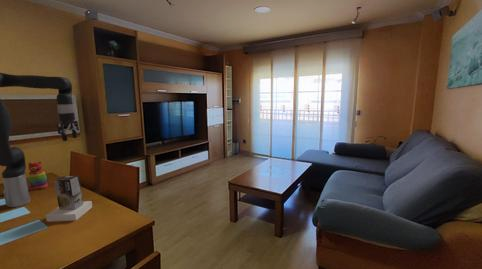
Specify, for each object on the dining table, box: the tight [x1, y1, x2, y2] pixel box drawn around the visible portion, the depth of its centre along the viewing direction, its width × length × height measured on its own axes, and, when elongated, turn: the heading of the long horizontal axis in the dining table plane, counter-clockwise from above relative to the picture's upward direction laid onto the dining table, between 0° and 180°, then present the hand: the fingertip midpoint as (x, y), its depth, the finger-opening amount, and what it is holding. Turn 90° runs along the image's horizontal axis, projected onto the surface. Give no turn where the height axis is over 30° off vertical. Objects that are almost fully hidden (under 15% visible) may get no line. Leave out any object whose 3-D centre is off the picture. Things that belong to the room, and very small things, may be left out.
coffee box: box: [53, 175, 84, 209], centre depth 119 cm, size 9×6×16 cm
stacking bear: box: [27, 161, 49, 192], centre depth 153 cm, size 11×10×18 cm
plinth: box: [45, 200, 93, 223], centre depth 120 cm, size 14×14×4 cm
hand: (70, 139), depth 135 cm, fingers open, 8 cm apart
